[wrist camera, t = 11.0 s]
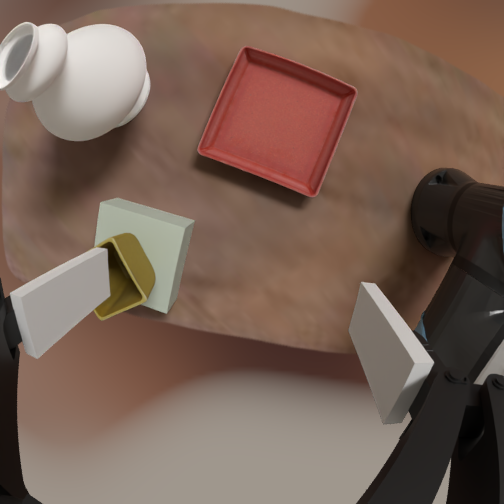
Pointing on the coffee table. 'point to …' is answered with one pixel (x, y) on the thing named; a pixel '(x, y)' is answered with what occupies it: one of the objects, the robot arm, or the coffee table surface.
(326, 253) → the coffee table surface
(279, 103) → the plant saucer
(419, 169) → the coffee table surface
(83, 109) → the decorative vase
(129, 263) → the flower pot
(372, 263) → the coffee table surface
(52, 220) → the coffee table surface
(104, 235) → the sage block
